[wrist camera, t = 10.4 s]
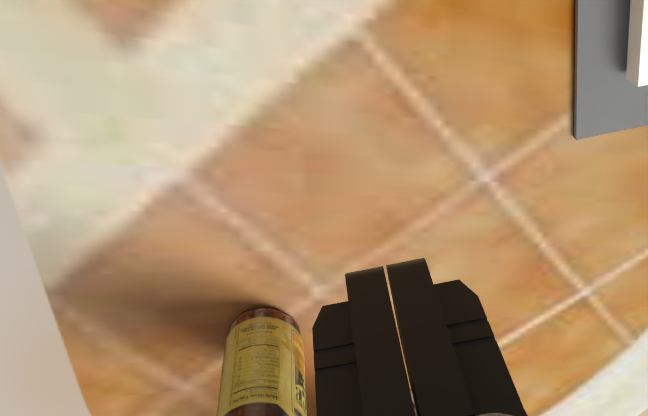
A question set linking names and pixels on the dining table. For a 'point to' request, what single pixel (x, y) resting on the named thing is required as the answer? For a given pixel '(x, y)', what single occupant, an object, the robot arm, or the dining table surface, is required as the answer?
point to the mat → (604, 71)
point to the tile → (638, 43)
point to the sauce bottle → (263, 366)
